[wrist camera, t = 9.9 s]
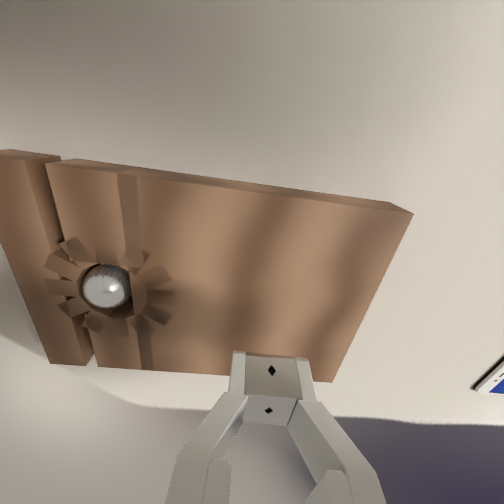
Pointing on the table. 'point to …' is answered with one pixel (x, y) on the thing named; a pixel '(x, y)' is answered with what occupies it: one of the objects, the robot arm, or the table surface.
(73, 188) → the grooved wooden board
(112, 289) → the ball
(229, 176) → the table surface
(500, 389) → the smartphone
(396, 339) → the table surface
